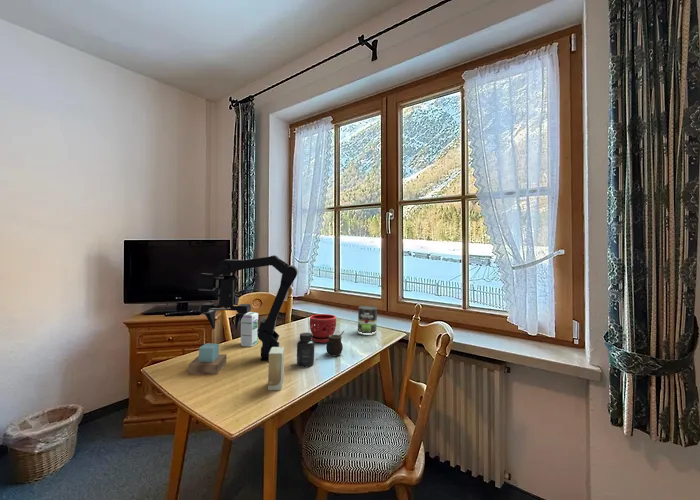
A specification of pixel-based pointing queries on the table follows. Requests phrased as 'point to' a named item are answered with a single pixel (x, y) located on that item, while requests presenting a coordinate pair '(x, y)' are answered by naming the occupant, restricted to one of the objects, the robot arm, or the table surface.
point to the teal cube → (208, 352)
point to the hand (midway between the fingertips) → (225, 329)
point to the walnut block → (207, 366)
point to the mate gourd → (334, 345)
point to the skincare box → (276, 368)
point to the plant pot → (322, 327)
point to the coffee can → (367, 319)
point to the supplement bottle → (305, 350)
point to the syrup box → (249, 329)
